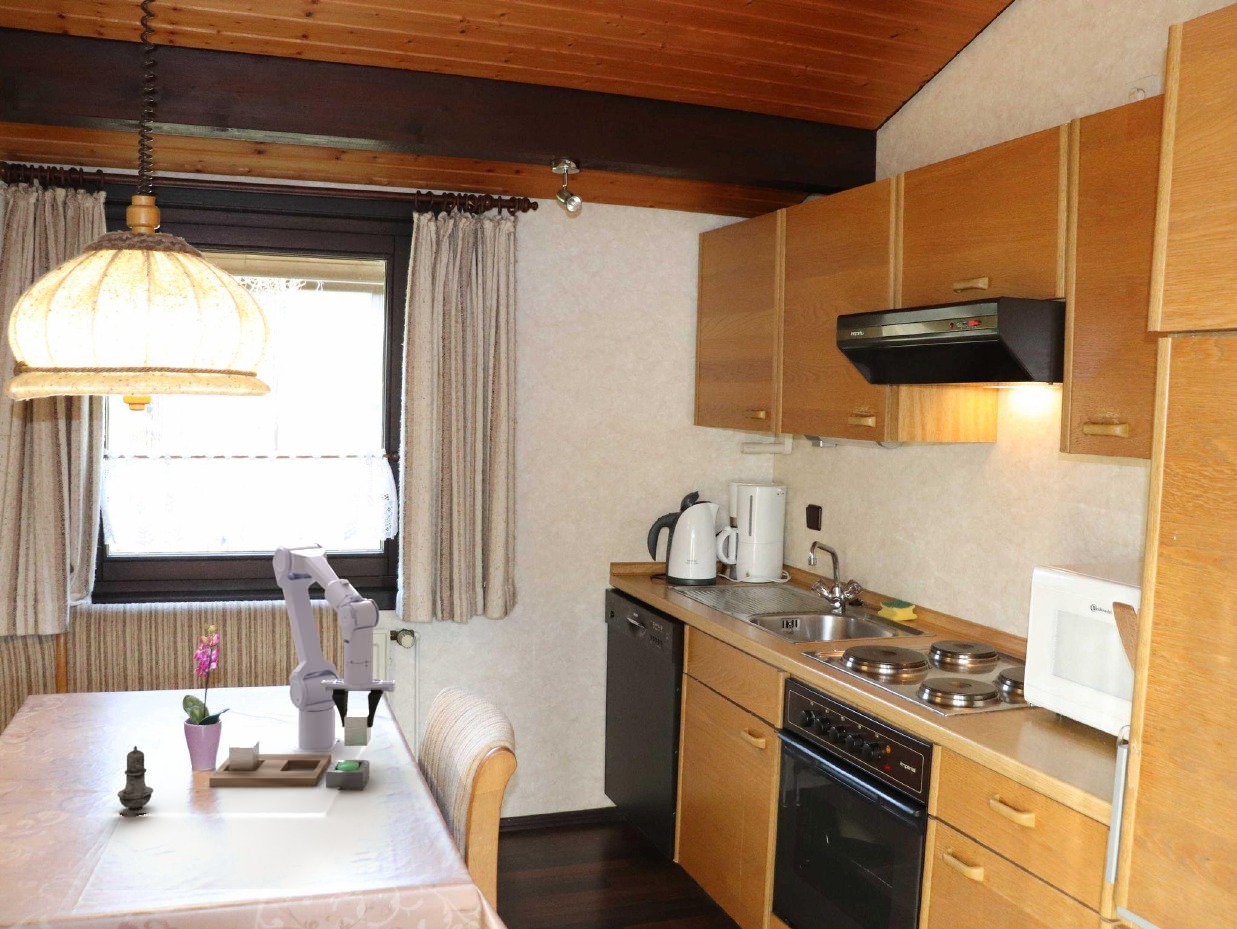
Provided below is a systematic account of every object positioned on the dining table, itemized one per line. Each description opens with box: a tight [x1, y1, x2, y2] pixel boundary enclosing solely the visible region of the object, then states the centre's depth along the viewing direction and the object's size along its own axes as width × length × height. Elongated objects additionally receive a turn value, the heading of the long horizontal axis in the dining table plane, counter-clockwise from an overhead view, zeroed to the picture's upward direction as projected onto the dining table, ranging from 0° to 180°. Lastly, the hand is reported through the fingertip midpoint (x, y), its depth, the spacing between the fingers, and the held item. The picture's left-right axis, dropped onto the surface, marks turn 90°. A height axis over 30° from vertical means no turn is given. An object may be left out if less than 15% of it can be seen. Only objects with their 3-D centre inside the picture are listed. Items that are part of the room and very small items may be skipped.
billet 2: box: [343, 709, 372, 747], centre depth 215 cm, size 4×4×6 cm
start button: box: [338, 761, 359, 770], centre depth 206 cm, size 4×4×3 cm
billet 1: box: [228, 739, 260, 771], centre depth 208 cm, size 4×4×6 cm
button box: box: [325, 759, 370, 791], centre depth 206 cm, size 7×7×4 cm
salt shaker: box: [117, 745, 154, 818], centre depth 189 cm, size 6×6×12 cm
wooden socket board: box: [208, 753, 332, 788], centre depth 209 cm, size 14×20×2 cm
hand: (357, 726), depth 215 cm, fingers closed on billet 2, 4 cm apart
